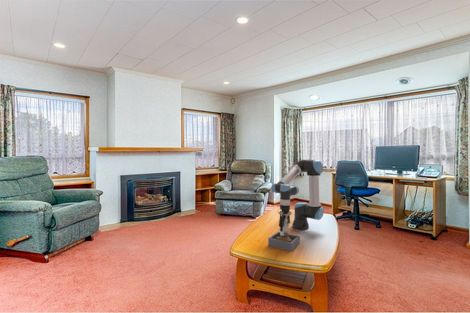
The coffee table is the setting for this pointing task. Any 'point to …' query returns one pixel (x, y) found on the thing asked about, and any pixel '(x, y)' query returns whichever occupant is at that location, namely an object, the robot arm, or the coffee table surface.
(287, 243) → the walled bin
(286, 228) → the candle holder
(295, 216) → the robot arm
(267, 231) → the coffee table surface
